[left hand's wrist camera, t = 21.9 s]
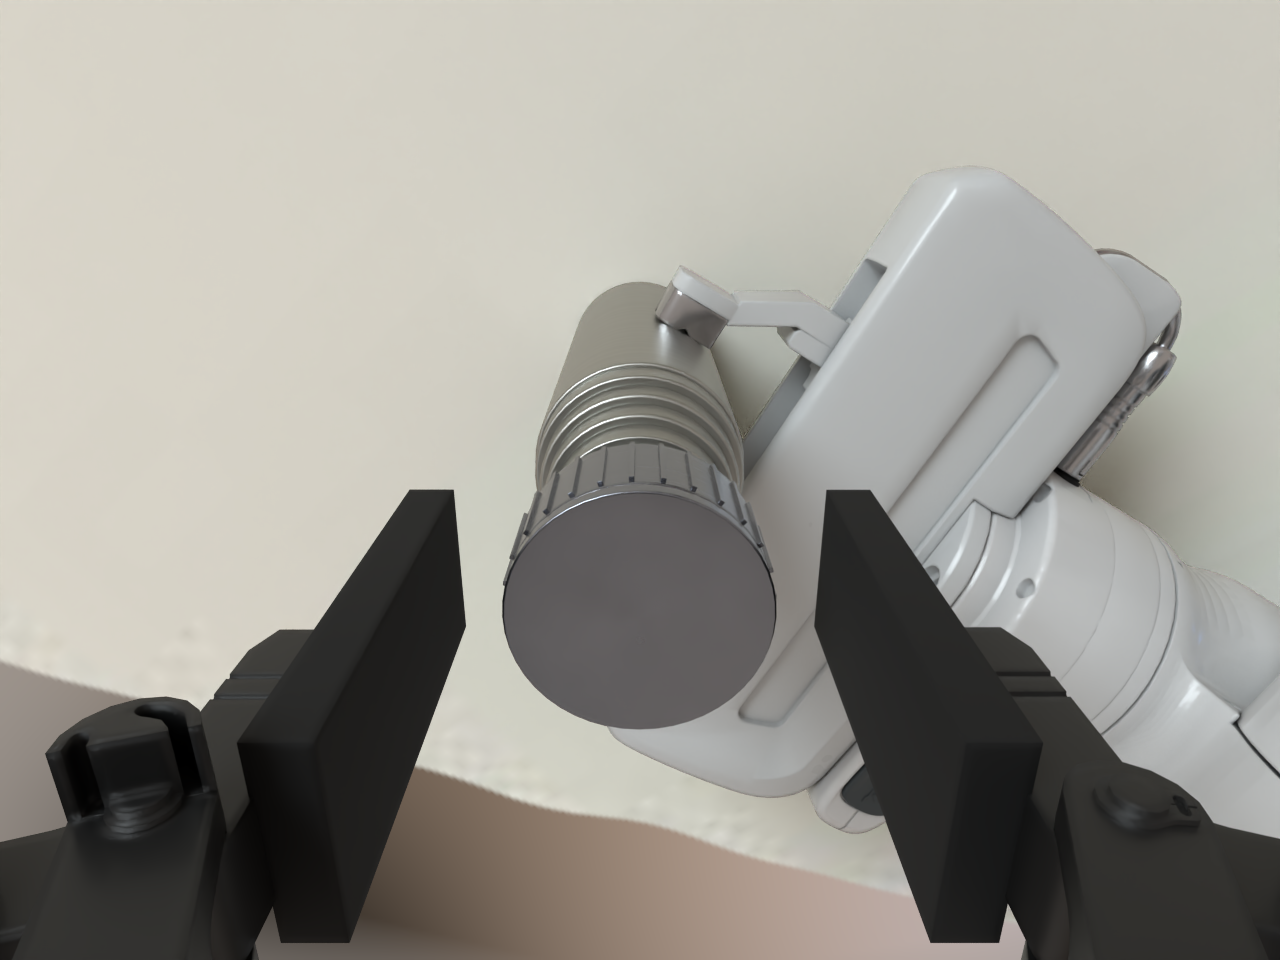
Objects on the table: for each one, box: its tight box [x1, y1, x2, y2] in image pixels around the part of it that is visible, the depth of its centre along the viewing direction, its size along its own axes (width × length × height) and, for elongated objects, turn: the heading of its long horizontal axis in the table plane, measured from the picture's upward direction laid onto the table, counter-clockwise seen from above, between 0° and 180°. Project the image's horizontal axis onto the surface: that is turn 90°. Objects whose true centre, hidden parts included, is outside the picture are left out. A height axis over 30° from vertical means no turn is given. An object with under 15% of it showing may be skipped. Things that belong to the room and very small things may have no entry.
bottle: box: [535, 282, 744, 494], centre depth 22 cm, size 5×5×18 cm
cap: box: [502, 442, 777, 730], centre depth 14 cm, size 4×4×2 cm
